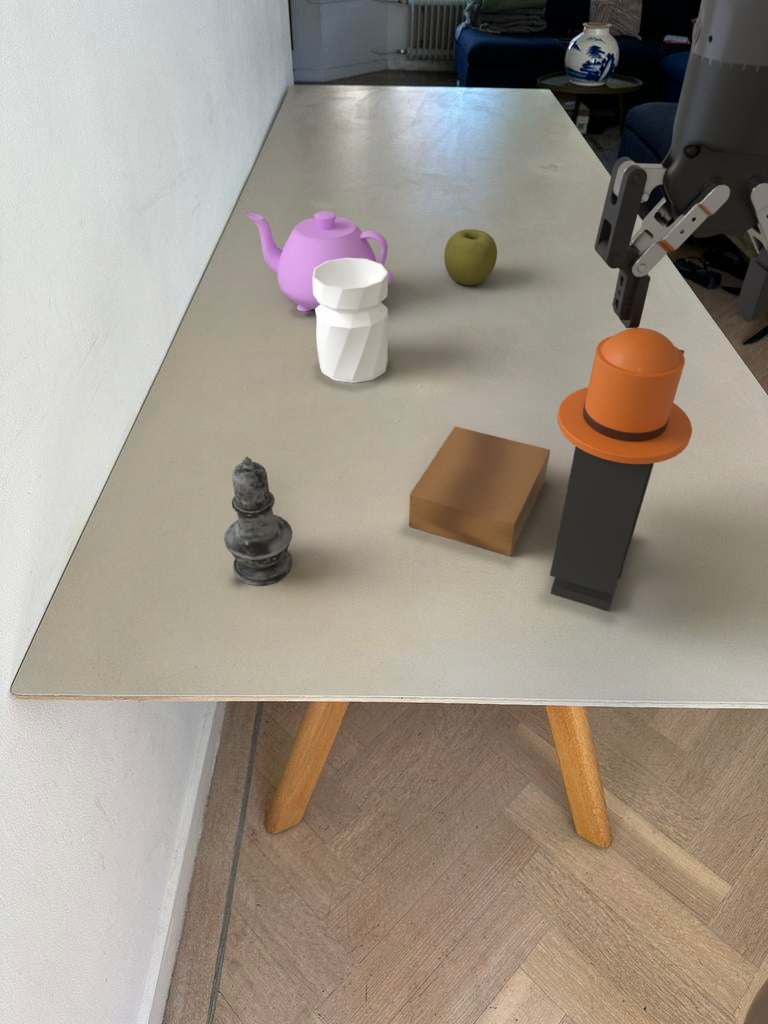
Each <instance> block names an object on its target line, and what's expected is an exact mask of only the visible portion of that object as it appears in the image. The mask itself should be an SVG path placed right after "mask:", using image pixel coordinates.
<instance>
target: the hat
mask: <svg viewBox="0 0 768 1024" xmlns="http://www.w3.org/2000/svg"><path fill="white" fill-rule="evenodd" d="M680 350H681V349H679V348H678V347H677V346H676V345H674V343H673V342H672V341H671V340H670V339H669V338H668V337H667V336H665V335H664V334H662V333H661V332H659V331H657V330H654V329H650V328H645V327H638V328H626V329H623V330H622V331H619V332H617V333H615V334H614V335H611V336H608V337H606V338H603V339H602V340H601V341H599V342H598V344H597V345H596V348H595V352H594V357H593V362H592V366H591V372H590V377H589V383H588V386H587V387H583V388H580V389H578V390H575V391H573V392H571V393H570V394H568V395H567V396H566V397H564V399H563V400H562V401H561V403H560V405H559V407H558V409H557V410H558V411H557V418H556V419H557V420H556V421H557V425H558V428H559V430H560V432H561V433H562V436H563V437H565V438H566V440H568V441H569V442H570V443H571V444H572V445H574V446H575V447H578V448H580V449H581V450H583V451H585V452H587V453H589V454H591V455H594V456H596V457H599V458H602V459H606V460H609V461H614V462H619V463H627V464H650V463H654V464H656V463H661V462H665V461H668V460H671V459H674V458H675V457H677V456H678V455H680V454H682V453H683V452H684V450H685V449H686V448H688V447H687V446H689V444H690V441H691V438H692V435H693V426H692V422H691V420H690V418H689V416H688V414H687V413H686V412H685V411H684V410H683V409H682V408H681V407H680V406H679V405H677V404H676V403H675V397H676V394H677V391H678V388H679V385H680V381H681V378H682V374H683V370H684V367H685V363H686V359H685V355H684V354H682V352H681V351H680Z"/></svg>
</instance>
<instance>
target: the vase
mask: <svg viewBox="0 0 768 1024" xmlns="http://www.w3.org/2000/svg"><path fill="white" fill-rule="evenodd" d="M387 270H388V269H387ZM387 270H386V268H385V265H384V266H383V265H382V264H380V263H378V261H377V262H374V261H371V260H368V259H363V258H341V259H335V260H330V261H326V262H324V263H322V264H321V265H319V266H317V267H315V268H314V271H313V277H312V280H313V295H314V296H315V298H316V299H317V301H318V302H319V303H320V305H319V306H318V307H317V308H316V309H314V311H315V315H316V325H315V326H316V327H315V329H316V330H315V334H316V335H315V336H316V337H315V338H316V339H315V340H316V350H317V357H318V362H319V368H320V370H321V373H322V374H324V375H325V376H327V377H328V378H330V379H331V380H332V381H337V382H343V383H350V384H355V383H361V382H369V381H374V380H375V379H376V378H378V377H379V376H382V375H383V374H385V373H386V370H387V366H388V364H389V354H388V346H389V345H388V344H389V309H388V307H387V306H386V305H385V304H384V303H383V301H384V300H386V298H388V291H389V290H388V288H389V285H388V272H387Z"/></svg>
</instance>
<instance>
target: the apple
mask: <svg viewBox="0 0 768 1024" xmlns="http://www.w3.org/2000/svg"><path fill="white" fill-rule="evenodd" d="M443 258H444V266H445V269H446V273H447V274H448V276H449V277H450V279H452V281H454V282H455V283H457V284H459V285H464V286H477V285H480V284H482V283H483V282H485V281H486V280H487V279H488V278H489V277H490V275H491V274H492V272H493V271H494V268H495V266H496V263H497V260H498V248H497V244H496V242H495V239H494V238H493V236H491V235H490V234H489V233H487V232H486V231H483V230H479V229H472V228H471V229H470V228H467V229H461V230H458V231H456V232H455V233H454V234H452V235H451V236H450V237H449V239H448V240H447V242H446V244H445V248H444V253H443Z"/></svg>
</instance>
